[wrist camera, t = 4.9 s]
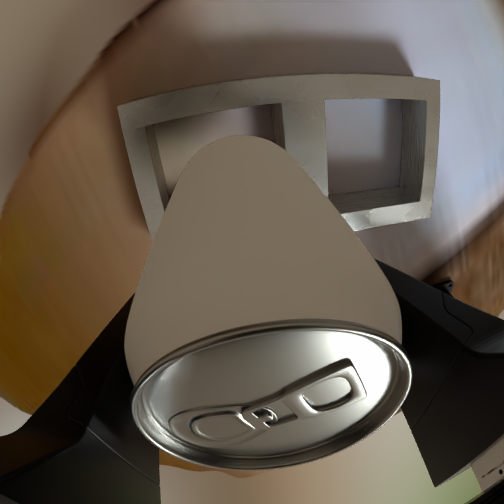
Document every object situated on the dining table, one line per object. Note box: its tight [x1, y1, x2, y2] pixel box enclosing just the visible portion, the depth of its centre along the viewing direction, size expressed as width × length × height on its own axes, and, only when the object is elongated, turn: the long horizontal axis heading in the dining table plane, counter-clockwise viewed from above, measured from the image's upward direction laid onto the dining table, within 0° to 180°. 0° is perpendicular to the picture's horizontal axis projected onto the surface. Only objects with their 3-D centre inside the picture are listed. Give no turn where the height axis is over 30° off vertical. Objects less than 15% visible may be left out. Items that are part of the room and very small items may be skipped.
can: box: [124, 135, 413, 471], centre depth 11 cm, size 6×6×12 cm
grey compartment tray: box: [117, 73, 440, 242], centre depth 19 cm, size 20×10×3 cm, turn 97°
